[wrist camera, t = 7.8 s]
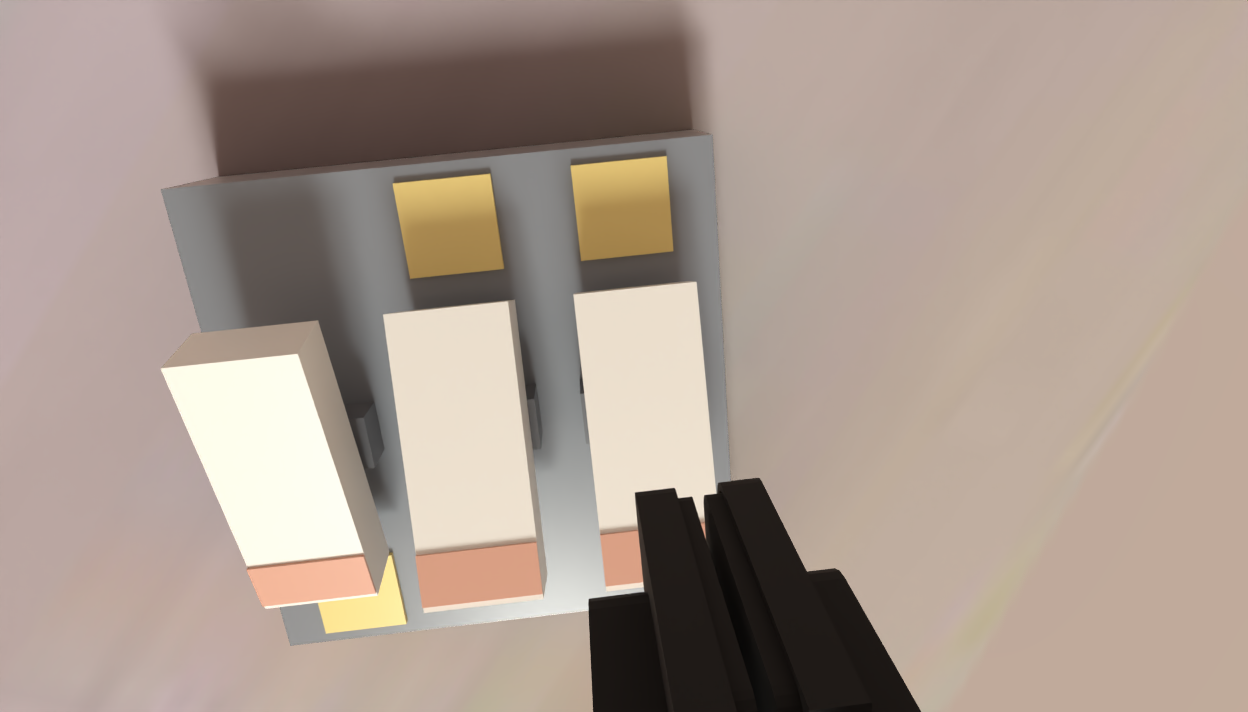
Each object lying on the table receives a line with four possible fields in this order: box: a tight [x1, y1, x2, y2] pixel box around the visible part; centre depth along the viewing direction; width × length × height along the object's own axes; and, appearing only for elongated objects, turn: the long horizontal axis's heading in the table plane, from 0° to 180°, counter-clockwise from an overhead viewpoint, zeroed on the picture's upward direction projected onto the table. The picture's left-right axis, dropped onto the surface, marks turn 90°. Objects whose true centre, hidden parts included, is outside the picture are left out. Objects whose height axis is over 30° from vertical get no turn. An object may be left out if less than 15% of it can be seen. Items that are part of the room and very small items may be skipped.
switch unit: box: [161, 130, 731, 646], centre depth 28 cm, size 17×17×5 cm
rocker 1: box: [161, 320, 389, 609], centre depth 23 cm, size 9×4×2 cm, turn 5°
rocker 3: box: [573, 281, 716, 592], centre depth 24 cm, size 9×4×2 cm, turn 5°
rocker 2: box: [383, 300, 547, 613], centre depth 23 cm, size 9×4×2 cm, turn 5°
